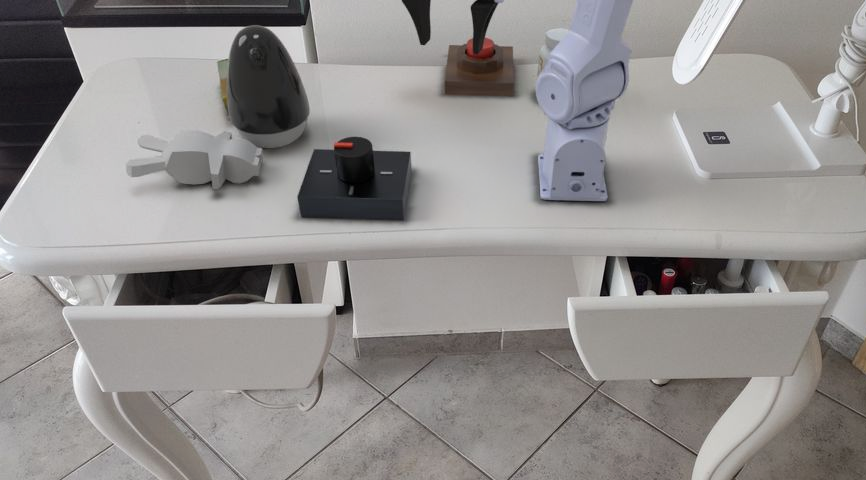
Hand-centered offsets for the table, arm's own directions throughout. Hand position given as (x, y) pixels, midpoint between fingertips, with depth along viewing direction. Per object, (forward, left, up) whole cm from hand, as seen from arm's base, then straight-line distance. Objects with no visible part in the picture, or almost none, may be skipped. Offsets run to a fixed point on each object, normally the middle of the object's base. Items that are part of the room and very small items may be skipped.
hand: (451, 46), depth 97 cm
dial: (-23, +10, -5) cm, 25 cm away
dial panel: (-23, +10, -8) cm, 26 cm away
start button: (+9, -4, -5) cm, 10 cm away
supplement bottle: (+2, -15, -9) cm, 17 cm away
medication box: (-2, +31, -9) cm, 32 cm away
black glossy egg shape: (-11, +23, -9) cm, 27 cm away
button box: (+8, -4, -9) cm, 13 cm away
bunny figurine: (-20, +30, -9) cm, 37 cm away
